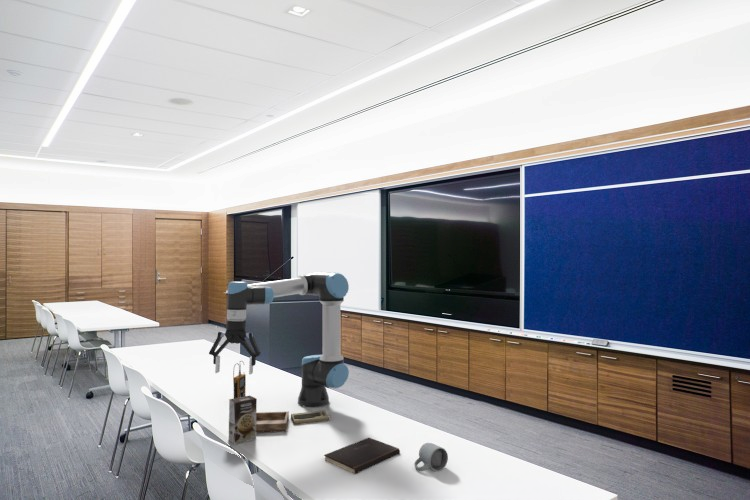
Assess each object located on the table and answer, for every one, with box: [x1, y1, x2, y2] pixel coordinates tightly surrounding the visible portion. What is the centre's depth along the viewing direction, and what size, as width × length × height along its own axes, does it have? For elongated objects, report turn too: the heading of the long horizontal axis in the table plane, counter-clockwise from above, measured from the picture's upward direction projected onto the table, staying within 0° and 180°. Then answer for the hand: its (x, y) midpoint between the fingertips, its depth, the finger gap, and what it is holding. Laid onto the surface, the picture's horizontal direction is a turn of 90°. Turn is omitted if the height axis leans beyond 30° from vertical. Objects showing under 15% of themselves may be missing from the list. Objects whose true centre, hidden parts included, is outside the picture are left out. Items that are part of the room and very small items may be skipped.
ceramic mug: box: [413, 442, 449, 472], centre depth 165 cm, size 11×8×8 cm
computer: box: [290, 409, 330, 426], centre depth 212 cm, size 16×8×3 cm, turn 110°
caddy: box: [256, 411, 290, 434], centre depth 204 cm, size 15×15×4 cm
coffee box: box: [228, 395, 257, 445], centre depth 189 cm, size 9×6×16 cm
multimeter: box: [232, 360, 247, 399], centre depth 236 cm, size 15×10×20 cm
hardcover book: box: [323, 437, 401, 475], centre depth 173 cm, size 16×23×2 cm
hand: (234, 373), depth 192 cm, fingers open, 13 cm apart
